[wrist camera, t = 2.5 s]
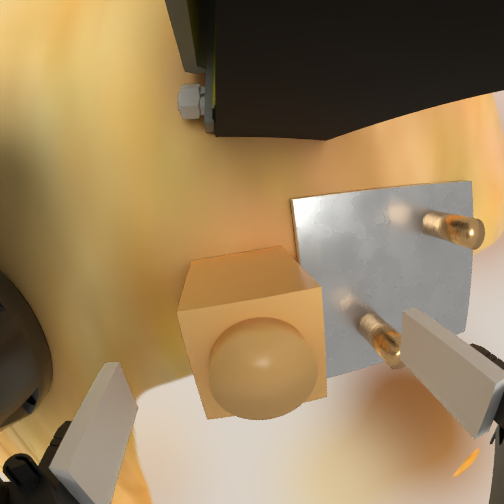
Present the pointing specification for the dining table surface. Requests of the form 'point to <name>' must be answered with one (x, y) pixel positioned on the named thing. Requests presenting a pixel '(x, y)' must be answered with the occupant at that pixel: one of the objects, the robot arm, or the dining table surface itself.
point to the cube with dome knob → (254, 334)
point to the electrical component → (332, 61)
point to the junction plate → (382, 262)
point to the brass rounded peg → (454, 228)
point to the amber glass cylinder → (382, 338)
